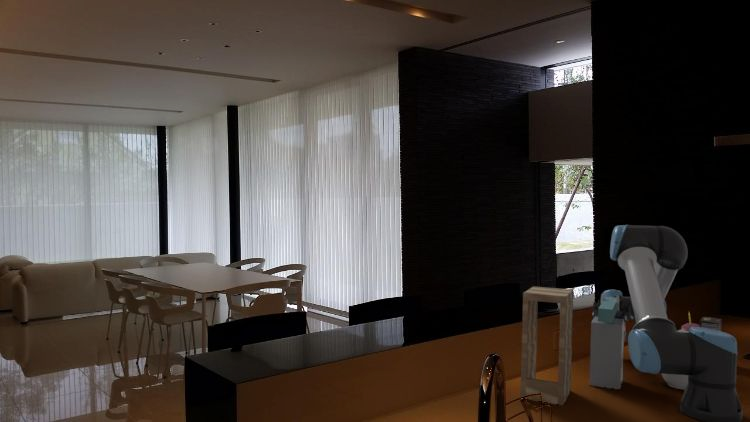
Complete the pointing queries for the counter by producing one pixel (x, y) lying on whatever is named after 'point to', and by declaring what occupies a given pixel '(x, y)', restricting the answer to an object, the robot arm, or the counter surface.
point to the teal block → (607, 310)
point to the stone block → (607, 353)
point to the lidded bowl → (676, 380)
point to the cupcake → (689, 325)
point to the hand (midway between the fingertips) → (609, 298)
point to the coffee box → (711, 323)
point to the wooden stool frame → (529, 383)
